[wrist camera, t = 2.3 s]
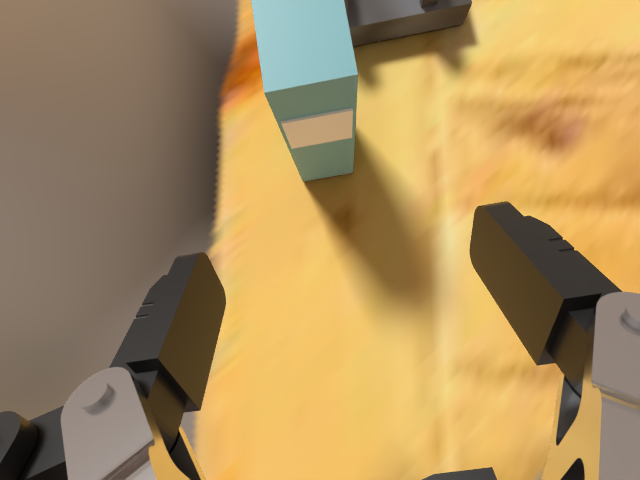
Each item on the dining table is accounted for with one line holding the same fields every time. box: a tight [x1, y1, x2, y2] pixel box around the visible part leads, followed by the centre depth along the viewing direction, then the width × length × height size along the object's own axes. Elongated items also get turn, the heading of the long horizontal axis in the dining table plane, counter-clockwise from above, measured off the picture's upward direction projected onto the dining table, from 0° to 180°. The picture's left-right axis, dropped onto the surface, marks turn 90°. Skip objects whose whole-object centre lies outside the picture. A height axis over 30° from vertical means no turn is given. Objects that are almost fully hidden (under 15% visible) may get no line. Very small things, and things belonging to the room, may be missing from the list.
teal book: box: [251, 0, 358, 182], centre depth 20 cm, size 4×6×12 cm
